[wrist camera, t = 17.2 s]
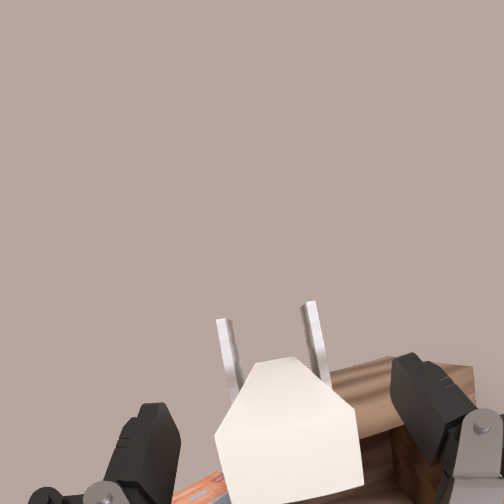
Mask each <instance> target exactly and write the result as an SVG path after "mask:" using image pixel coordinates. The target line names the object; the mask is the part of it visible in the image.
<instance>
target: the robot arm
mask: <svg viewBox="0 0 504 504" xmlns="http://www.w3.org/2000/svg"><path fill="white" fill-rule="evenodd" d="M390 397H391V401H392V404H393V406H394V408H395V409H396V411H397V413H398V414H399V416H400V418H401V419H402V421H403V422H404V424H405V426H406V428H407V429H408V431H409V433H410V434H411V436H412V438H413V439H414V441H415V443H416V444H417V446H418V448H419V450H420V451H421V453H422V455H423V456H424V458H425V460H426V462H427V463H428V465H429V467H430V468H431V467H434V466H436V465H438V464H440V463H441V465H442V466H443V468H444V469H443V472H442V475H441V479H440V483H439V486H438V490H437V493H436V496H435V499H434V503H433V504H503V500H504V414H502V415H499V414H498V413H496V412H495V411H493V410H490V409H478V408H477V407H476V406H475V405H474V404H473V403H472V401H471V400H470V399H469V398H468V397H467V396H466V395H465V393H464V392H463V391H462V390H461V389H460V388H459V387H458V386H457V385H456V384H454V381H453V380H452V379H451V378H450V377H448V375H447V374H446V372H445V371H444V370H443V369H442V368H441V367H440V366H438V365H436V364H434V363H432V362H430V361H427V362H424V363H423V362H422V361H421V360H420V358H419V357H418V356H417V355H416V354H415V353H413V352H411V353H408V354H406V355H403V356H399V357H396V358H394V359H393V360H392V368H391V382H390ZM180 448H181V439H180V434H179V431H178V429H177V427H176V425H175V423H174V421H173V419H172V417H171V415H170V412H169V410H168V408H167V406H166V405H165V404H164V403H163V402H161V403H145V404H143V405H142V406H141V408H140V411H139V414H138V416H137V418H136V417H134V418H133V417H132V418H131V419H130V420H129V421H128V422H127V423H126V425H125V426H124V427H123V429H122V431H121V434H120V436H119V440H118V442H117V444H116V449H114V452H113V455H112V457H111V460H110V463H109V466H108V468H107V471H106V474H105V477H104V479H103V481H100V482H97V483H94V484H93V485H91V486H90V487H89V488H88V489H87V490H86V491H85V493H84V494H82V495H72V496H62V495H61V494H60V493H59V492H58V491H57V490H56V489H54V488H52V487H43V488H40V489H38V490H37V491H35V492H34V493H33V494H32V496H31V497H30V499H29V502H28V504H171V502H172V496H173V490H174V484H175V477H176V471H177V465H178V459H179V454H180ZM500 474H501V475H502V477H500Z"/></svg>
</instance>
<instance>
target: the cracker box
mask: <svg viewBox="0 0 504 504" xmlns="http://www.w3.org/2000/svg"><path fill="white" fill-rule="evenodd" d="M171 504H232V503H231V500H230V496H229V492H228V489H227V485H226V481H225V478H224V474H223V473H222V472H215V473H213V474H212V475H210V476H208V477H206V478H204V479H203V480H201V481H199V482H197V483H195V484H193V485H192V486H190V487H188V488H186V489H184V490H182V491H180V492H178V493H176V494H174V495H173V496H172V502H171Z"/></svg>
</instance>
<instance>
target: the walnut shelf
mask: <svg viewBox="0 0 504 504" xmlns="http://www.w3.org/2000/svg"><path fill="white" fill-rule="evenodd" d="M300 312H301V317H302V322H303V327H304V332H305V337H306V342H307V347H308V352H309V357H310V362H311V368H312V373H314V374H315V375H316V376H317V377H318V378H319V379H320V380H321V381H323V382H324V383H325V384H326V385H327V386H328V387H329V388H331V389H332V390H333V391H334V392H335V393H336V394H337V395H339V396H340V397H341V398H342V399H343V400H344V401H345V402H347V403H348V404H349V405H350V406H351V407H352V408H354V410H355V416H356V423H357V430H358V437H359V444H360V452H361V460H362V469H363V478H364V485H362V486H359V487H355V488H352V489H348V490H345V491H341V492H337V493H333V494H329V495H325V496H320V497H316V498H311V499H306V500H301V501H296V502H290V503H284V504H433V503H434V499H435V496H436V493H437V490H438V486H439V483H440V479H441V475H442V472H443V469H444V468H443V466H442V465H441V463H440V464H438V465H436V466H434V467H431V468H430V467H429V465H428V463H427V462H426V460H425V458H424V456H423V455H422V453H421V451H420V450H419V448H418V446H417V444H416V443H415V441H414V439H413V438H412V436H411V434H410V433H409V431H408V429H407V428H406V426H405V424H404V422H403V421H402V419H401V418H400V416H399V414H398V413H397V411H396V409H395V408H394V406H393V404H392V401H391V397H390V382H391V368H392V360H393V359H394V358H396V357H389V356H386V357H383V358H380V359H377V360H373V361H370V362H366V363H363V364H359V365H355V366H352V367H348V368H344V369H341V370H337V371H333V372H329V368H328V362H327V357H326V352H325V347H324V342H323V337H322V332H321V327H320V322H319V317H318V312H317V308H316V303H315V301H310V302H306V303H305V304H304V305H303V306H302V307H301V308H300ZM216 323H217V329H218V334H219V339H220V345H221V351H222V356H223V361H224V367H225V371H226V377H227V382H228V387H229V392H230V397H231V401H232V404H233V403H234V401H235V399H236V397H237V396H238V394H239V392H240V390H241V388H242V387H243V385H244V383H245V380H244V374H243V369H242V364H241V359H240V354H239V349H238V343H237V338H236V333H235V327H234V322H233V321H231V320H229V319H226V318H223V319H218V320H216ZM422 362H423V363H424V362H425V361H422ZM432 363H433V362H432ZM434 364H436V365H438V366H440V367H441V368H442V369H443V370H444V371H445V372H446V374H447V375H448V377H450V378H451V379H452V380H453V381H454V384H456V385H457V386H458V387H459V388H460V389H461V390H462V391H463V392H464V393H465V395H466V396H467V397H468V398H469V399H470V400H471V401H472V403H473V404H474V405H475V406H476V400H475V387H474V376H473V367H471V366H461V365H451V364H442V363H434Z"/></svg>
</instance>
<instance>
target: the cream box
mask: <svg viewBox="0 0 504 504" xmlns="http://www.w3.org/2000/svg"><path fill="white" fill-rule="evenodd" d="M214 437H215V442H216V446H217V450H218V453H219V458H220V462H221V466H222V470H223V474H224V478H225V481H226V485H227V489H228V492H229V496H230V500H231V503H232V504H284V503H290V502H296V501H301V500H306V499H311V498H316V497H320V496H325V495H329V494H333V493H337V492H341V491H345V490H348V489H352V488H355V487H359V486H362V485H364V478H363V469H362V460H361V452H360V444H359V437H358V430H357V423H356V416H355V410H354V408H352V407H351V406H350V405H349V404H348V403H347V402H345V401H344V400H343V399H342V398H341V397H340V396H339V395H337V394H336V393H335V392H334V391H333V390H332V389H331V388H329V387H328V386H327V385H326V384H325V383H324V382H323V381H321V380H320V379H319V378H318V377H317V376H316V375H315V374H314V373H312V372H311V371H310V370H309V369H308V368H307V367H306V366H305V365H304V364H302V363H301V362H300V361H299V360H298V359H297V358H296V357H295V356H291V357H286V358H281V359H276V360H271V361H265V362H260V363H255V365H254V367H253V368H252V370H251V372H250V374H249V376H248V378H247V379H246V381H245V383H244V385H243V387H242V388H241V390H240V392H239V394H238V396H237V397H236V399H235V401H234V403H233V404H232V406H231V408H230V410H229V411H228V413H227V415H226V417H225V419H224V420H223V422H222V424H221V425H220V427H219V429H218V430H217V432H216V434H215V435H214Z"/></svg>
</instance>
